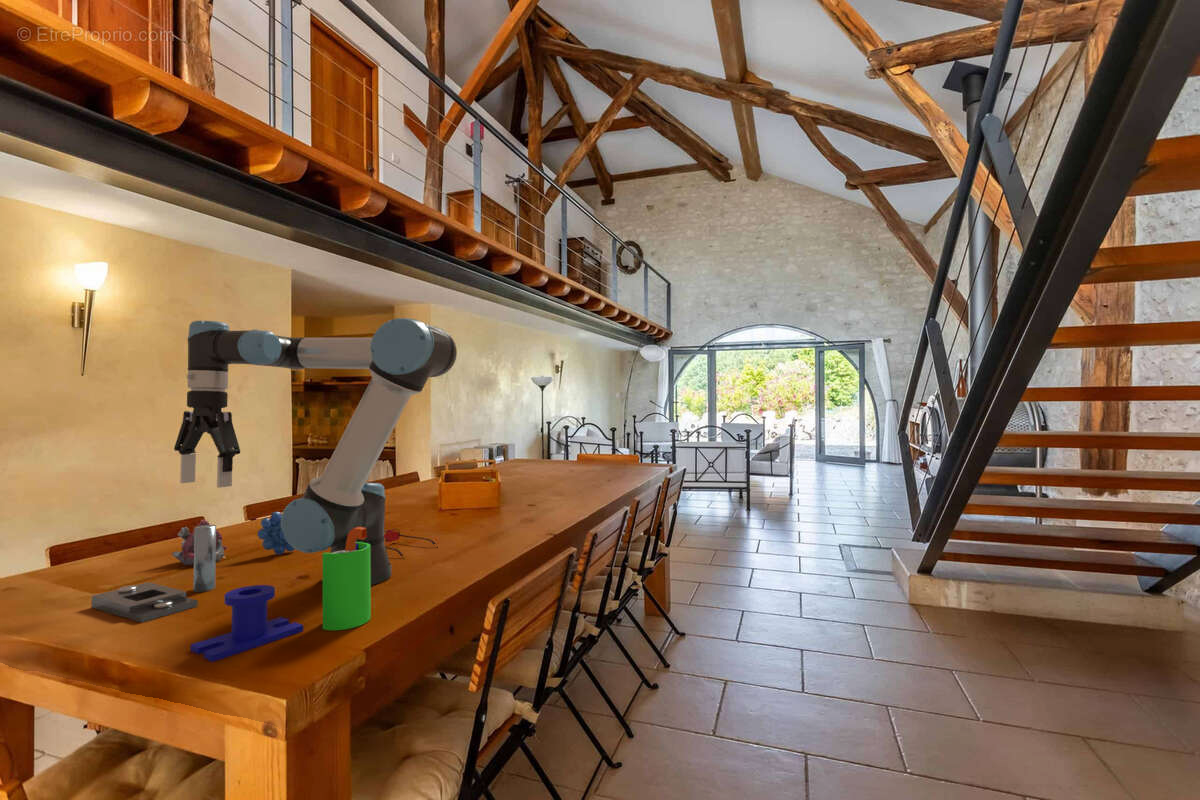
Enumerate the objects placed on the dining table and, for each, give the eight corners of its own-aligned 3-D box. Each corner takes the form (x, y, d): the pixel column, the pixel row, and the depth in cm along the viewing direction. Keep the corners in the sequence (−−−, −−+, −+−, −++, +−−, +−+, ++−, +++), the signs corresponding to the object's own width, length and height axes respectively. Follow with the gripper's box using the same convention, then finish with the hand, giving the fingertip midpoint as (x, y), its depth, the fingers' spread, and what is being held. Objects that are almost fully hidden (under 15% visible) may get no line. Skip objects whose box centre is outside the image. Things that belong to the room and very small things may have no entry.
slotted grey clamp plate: (197, 606, 115) (197, 591, 115) (140, 622, 106) (141, 606, 106) (148, 593, 123) (148, 579, 123) (91, 607, 114) (91, 592, 114)
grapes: (263, 561, 149) (264, 516, 149) (253, 556, 153) (254, 512, 153) (308, 552, 158) (309, 510, 158) (298, 548, 162) (299, 507, 162)
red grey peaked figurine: (203, 559, 141) (181, 520, 143) (175, 583, 143) (153, 544, 145) (242, 549, 152) (220, 512, 154) (215, 571, 154) (194, 534, 156)
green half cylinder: (335, 612, 112) (336, 522, 113) (376, 612, 113) (378, 522, 113) (316, 631, 103) (317, 532, 103) (361, 629, 104) (362, 532, 104)
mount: (211, 663, 90) (212, 608, 91) (190, 652, 95) (191, 599, 95) (303, 632, 103) (303, 584, 103) (281, 623, 107) (281, 577, 107)
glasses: (397, 542, 172) (397, 526, 172) (439, 549, 165) (440, 531, 165) (360, 553, 159) (360, 535, 159) (404, 560, 152) (405, 542, 152)
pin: (219, 588, 127) (220, 525, 127) (200, 593, 123) (201, 529, 123) (208, 585, 129) (209, 524, 129) (189, 590, 125) (190, 527, 125)
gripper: (157, 389, 129) (155, 482, 128) (224, 389, 118) (222, 490, 118) (192, 390, 135) (190, 479, 135) (259, 390, 125) (257, 486, 124)
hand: (205, 484), depth 126 cm, fingers open, 13 cm apart
